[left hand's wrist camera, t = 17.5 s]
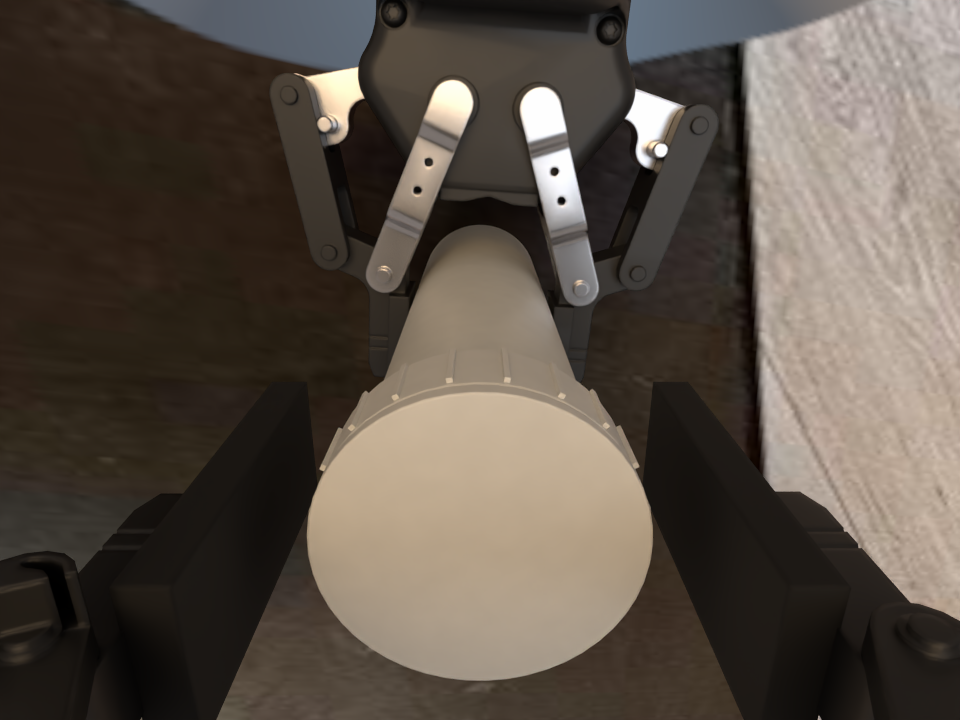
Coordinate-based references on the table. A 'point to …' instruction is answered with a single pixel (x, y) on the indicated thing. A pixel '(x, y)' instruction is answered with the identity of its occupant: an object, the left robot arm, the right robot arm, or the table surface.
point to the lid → (479, 518)
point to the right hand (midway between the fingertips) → (474, 388)
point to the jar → (479, 302)
